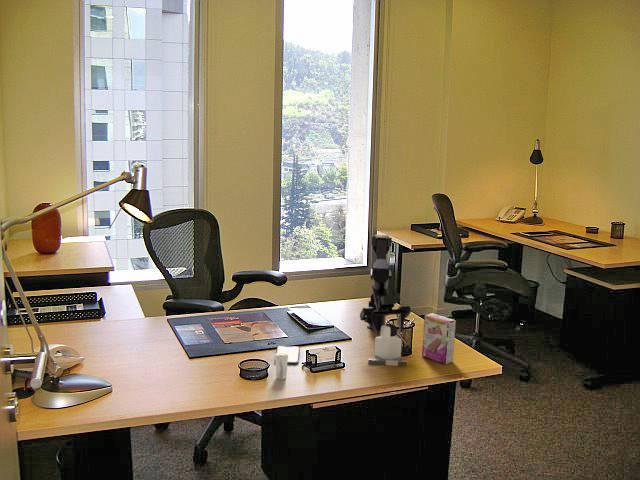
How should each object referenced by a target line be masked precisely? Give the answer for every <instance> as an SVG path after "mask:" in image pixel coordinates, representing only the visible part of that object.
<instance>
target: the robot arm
mask: <svg viewBox="0 0 640 480" xmlns="http://www.w3.org/2000/svg"><path fill="white" fill-rule="evenodd" d="M392 238H393V237H390V235H387V234H386V235H385V234H374V236H371V244H370V245H371V247H372V251H373V252H374V254H375V261H374V262H373V263H372V268H371V269H370V280H372V285H371V290H372V294H371V295H370V300H368V306H367V307H364V306H363V308H362V309H361V311H360V313H359V318H360V321H364V323H367V324H368V325H367V326H366V327H367V328H368V329H371V330H373V331H374V332H375V333H376V334H377V335H380V332H381V326H382V325H385V324H386V316H387V317H388V316H394V315H396V321H397V325H398V326H397V327H398V328H399V332H400V333H401V334H402V333H403V332H404V323H405V320H406V319H407V318H408V317H409V315H410V314H411V312H412V308H411V306H410V305H409V304H406V305H399V306H398V308H396V309H394V308H395V305H397V303H400V302H401V300H402V299H401V295H400V292H399V293H398V292H397V293H395V292H394V293H393V295H392V294H389V290H388V286H389V281H391V279H393V273H392V271H391V269H390V265H389V263H388V262H387V255H388V254H389V252H390V250H391V249H390V248H391V247H392V241H393V240H392Z"/></svg>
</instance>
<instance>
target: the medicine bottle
mask: <svg viewBox="0 0 640 480" xmlns="http://www.w3.org/2000/svg"><path fill="white" fill-rule="evenodd" d="M397 336H398V326H397V325H395V324H391V323H385V325H382V326H381V330H380V336H375V339H374V356H375V355H376V356H378V357H380V358H382V359H388V360H392V359H395V358H399V357H401V358H402V354H401V353H402V344H403V343H402V340H403V339H402V338H400V337H397Z"/></svg>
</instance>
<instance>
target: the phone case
mask: <svg viewBox="0 0 640 480" xmlns="http://www.w3.org/2000/svg"><path fill="white" fill-rule="evenodd" d="M280 351H282V352H285V353H287V354H288V362H287V366H298V365H299V363H300V362H299V361H300V353H301V352H300V351H301V349H300V347H299V346H295V345H293V346H292V345H290V346H288V345H279V346H276V351H275V354H276V353H278V352H280ZM274 364H275V365H276V363H275V362H274Z"/></svg>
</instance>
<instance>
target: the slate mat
mask: <svg viewBox="0 0 640 480" xmlns="http://www.w3.org/2000/svg"><path fill="white" fill-rule="evenodd" d="M401 358H402V356H401V357H399V358H395V359H392V360H401ZM374 359H382V358H380V357H378V356H376V355H375V354H374Z"/></svg>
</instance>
